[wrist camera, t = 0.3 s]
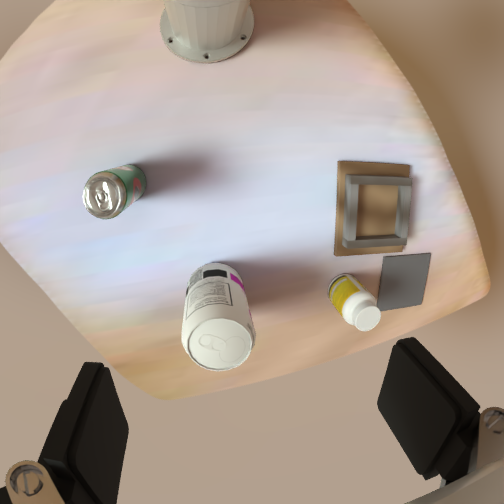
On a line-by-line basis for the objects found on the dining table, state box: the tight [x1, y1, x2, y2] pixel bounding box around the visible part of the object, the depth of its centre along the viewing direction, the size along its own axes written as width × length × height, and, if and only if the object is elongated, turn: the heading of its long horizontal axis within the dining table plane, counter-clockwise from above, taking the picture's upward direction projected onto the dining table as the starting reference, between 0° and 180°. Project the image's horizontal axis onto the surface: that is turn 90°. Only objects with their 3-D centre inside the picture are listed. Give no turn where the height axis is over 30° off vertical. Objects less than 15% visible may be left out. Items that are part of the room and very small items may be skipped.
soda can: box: [83, 165, 146, 219], centre depth 35 cm, size 5×5×12 cm
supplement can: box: [182, 263, 256, 371], centre depth 40 cm, size 8×8×15 cm
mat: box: [377, 253, 431, 311], centre depth 51 cm, size 10×10×1 cm
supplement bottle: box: [328, 274, 381, 331], centre depth 46 cm, size 5×5×10 cm
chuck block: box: [334, 161, 412, 256], centre depth 45 cm, size 14×12×3 cm
